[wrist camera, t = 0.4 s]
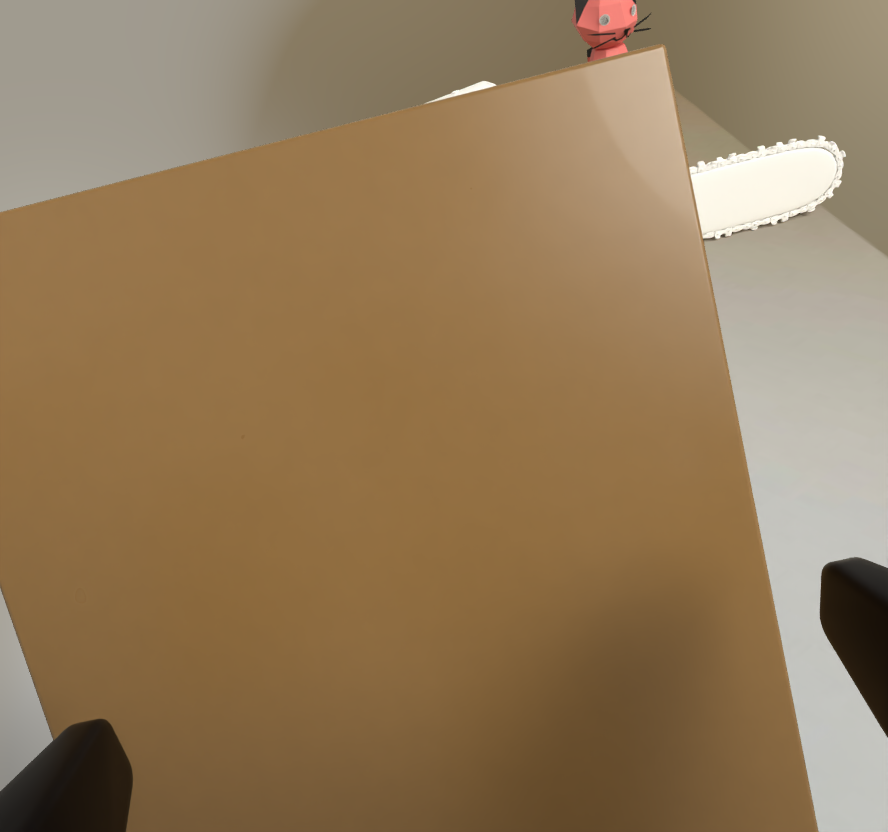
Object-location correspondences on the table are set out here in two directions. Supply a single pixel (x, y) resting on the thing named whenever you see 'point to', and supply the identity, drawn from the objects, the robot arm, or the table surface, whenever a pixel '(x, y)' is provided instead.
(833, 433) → the table surface
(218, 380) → the lid
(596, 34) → the cat figurine
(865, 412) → the table surface
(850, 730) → the table surface
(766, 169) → the chainsaw
